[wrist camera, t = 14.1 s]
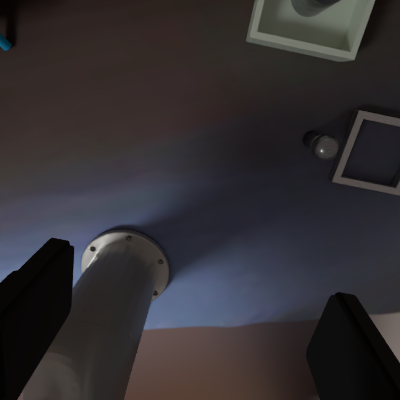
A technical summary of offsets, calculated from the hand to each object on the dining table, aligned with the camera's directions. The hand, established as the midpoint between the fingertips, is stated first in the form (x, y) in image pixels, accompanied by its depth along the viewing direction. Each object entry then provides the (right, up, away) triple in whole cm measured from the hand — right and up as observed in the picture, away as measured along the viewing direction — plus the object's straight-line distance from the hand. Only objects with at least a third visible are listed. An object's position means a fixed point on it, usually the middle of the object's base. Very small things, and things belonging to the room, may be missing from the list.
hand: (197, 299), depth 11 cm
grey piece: (+19, +10, +26) cm, 33 cm away
